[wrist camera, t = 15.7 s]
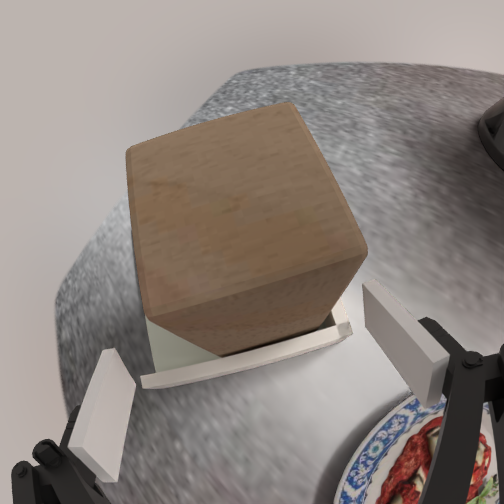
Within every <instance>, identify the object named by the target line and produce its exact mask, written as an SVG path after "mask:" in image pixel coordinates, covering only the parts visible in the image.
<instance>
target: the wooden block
mask: <svg viewBox="0 0 504 504" xmlns="http://www.w3.org/2000/svg"><path fill="white" fill-rule="evenodd" d="M126 171H127V186H128V198H129V208H130V218H131V227H132V236H133V244H134V252H135V259H136V266H137V273H138V280H139V286H140V292H141V298H142V304H143V310H144V314H145V315H146V317H147V319H148V320H149V321H151V322H152V323H154V324H156V325H158V326H160V327H162V328H164V329H165V330H167V331H169V332H171V333H173V334H175V335H177V336H179V337H181V338H183V339H185V340H187V341H189V342H190V343H192V344H194V345H196V346H198V347H200V348H202V349H205V350H207V351H209V352H211V353H213V354H215V355H217V356H219V357H221V358H224V357H228V356H232V355H236V354H240V353H244V352H247V351H251V350H255V349H259V348H262V347H266V346H269V345H273V344H276V343H280V342H283V341H287V340H290V339H293V338H297V337H300V336H303V335H307V334H310V333H313V332H315V331H317V330H318V329H319V327H320V326H321V324H322V323H323V322H324V320H325V319H326V317H327V316H328V314H329V313H330V311H331V310H332V309H333V307H334V306H335V304H336V303H337V301H338V300H339V298H340V297H341V295H342V294H343V292H344V291H345V289H346V288H347V286H348V285H349V283H350V282H351V280H352V279H353V277H354V275H355V274H356V272H357V271H358V269H359V268H360V266H361V265H362V263H363V261H364V260H365V258H366V257H367V255H368V247H367V244H366V242H365V240H364V237H363V235H362V233H361V231H360V229H359V227H358V224H357V222H356V220H355V218H354V216H353V214H352V212H351V210H350V208H349V206H348V203H347V201H346V199H345V197H344V195H343V193H342V191H341V189H340V187H339V185H338V183H337V181H336V179H335V178H334V176H333V174H332V172H331V170H330V168H329V166H328V164H327V162H326V160H325V158H324V157H323V155H322V153H321V151H320V149H319V147H318V146H317V144H316V142H315V140H314V138H313V137H312V135H311V133H310V131H309V129H308V128H307V126H306V124H305V122H304V121H303V119H302V117H301V115H300V114H299V112H298V110H297V109H296V107H295V105H294V104H292V103H290V102H284V103H279V104H275V105H270V106H266V107H261V108H257V109H253V110H249V111H245V112H241V113H237V114H233V115H229V116H225V117H221V118H218V119H214V120H211V121H207V122H204V123H200V124H197V125H193V126H190V127H187V128H184V129H180V130H177V131H174V132H171V133H168V134H165V135H162V136H159V137H156V138H153V139H150V140H147V141H145V142H142V143H139V144H136V145H134V146H131V147H130V148H129V149H127V151H126Z"/></svg>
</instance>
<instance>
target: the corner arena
mask: <svg viewBox="0 0 504 504" xmlns="http://www.w3.org/2000/svg"><path fill="white" fill-rule="evenodd" d="M145 319H146V325H147V330H148V336H149V341H150V347H151V352H152V357H153V362H154V366H155V371H156V373H153V374H147V375H142V376H140V378H141V383H142V388H143V389H163V388H169V387H174V386H179V385H184V384H188V383H193V382H198V381H202V380H207V379H211V378H216V377H220V376H224V375H228V374H232V373H236V372H240V371H244V370H248V369H252V368H256V367H259V366H263V365H267V364H270V363H274V362H277V361H281V360H284V359H288V358H291V357H294V356H298V355H301V354H304V353H307V352H311V351H314V350H317V349H320V348H323V347H326V346H329V345H332V344H335V343H338V342H341V341H343V340H345V339H346V338H348V337H349V336H350V335H352V334H353V332H352V329H351V326H350V323H349V320H348V317H347V314H346V311H345V308H344V305H343V302H342V300H341V297H340V298H339V300H338V301H337V303H336V304H335V306H334V307H333V309H332V310H331V311H330V313H329V314H328V316H327V317H326V319H325V320H324V322H323V323H322V324H321V326H320V327H319V329H318V330H317V331H315V332H313V333H310V334H307V335H303V336H300V337H297V338H293V339H290V340H287V341H283V342H280V343H276V344H273V345H269V346H266V347H262V348H259V349H255V350H251V351H247V352H244V353H240V354H236V355H232V356H228V357H224V358H221V357H219V356H217V355H215V354H213V353H211V352H209V351H207V350H205V349H202V348H200V347H198V346H196V345H194V344H192V343H190V342H189V341H187V340H185V339H183V338H181V337H179V336H177V335H175V334H173V333H171V332H169V331H167V330H165V329H164V328H162V327H160V326H158V325H156V324H154V323H152V322H151V321H149V320H148V319H147V317H146V315H145Z"/></svg>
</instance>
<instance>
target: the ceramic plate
mask: <svg viewBox="0 0 504 504" xmlns="http://www.w3.org/2000/svg"><path fill="white" fill-rule="evenodd" d="M446 400H447V399H446V397H445V396H444V395H443V394H442V395H441V399H440V402H439V403H437V404H435V405H433V406H431V407H429V408H427V409H424V408H423V406H422V405H421V403H420V402H419V401H418V399H417V398H416V396H415V395H412V396H410V397H409V398H407V399H406V400H405V401H403V402H402V403H401V404H399V405H398V406H396V407H395V408H394V409H393V410H391V411H390V412H389V413H388V414H387V415H386V416H385V417H384V418H383V419H382V420H381V421H380V422H379V423H378V424H377V425H376V426H375V427H374V428H373V429H372V430H371V431H370V432H369V434H368V435H367V436H366V437H365V439H364V440H363V441H362V443H361V444H360V445H359V447H358V448H357V450H356V451H355V453H354V454H353V456H352V458H351V460H350V461H349V463H348V465H347V466H346V468H345V470H344V473H343V475H342V478H341V480H340V482H339V485H338V488H337V491H336V494H335V498H334V503H333V504H418V501H419V498H420V496H421V493H422V490H423V487H424V484H425V481H426V478H427V475H428V472H429V468H430V465H431V462H432V458H433V455H434V451H435V447H436V444H437V440H438V436H439V432H440V427H441V423H442V419H443V411H444V408H445V404H446ZM465 504H499V484H498V471H497V460H496V451H495V443H494V436H493V429H492V423H491V417H490V412H489V406H488V402H486V403H483V413H482V422H481V429H480V436H479V443H478V449H477V455H476V460H475V465H474V470H473V475H472V479H471V484H470V488H469V492H468V496H467V500H466V503H465Z"/></svg>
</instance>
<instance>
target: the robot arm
mask: <svg viewBox="0 0 504 504" xmlns="http://www.w3.org/2000/svg"><path fill="white" fill-rule="evenodd" d="M478 132H479V136H480V139H481V141H482V143H483V145H484V147H485V149H486V150H487V152H488V153H489V155H490V156H491V157H492V158H493V160H494V161H495V162H496V163H497V164H498V165H499V166H500V167H501V168H502V169H503V170H504V97H503V98H502V99H501V100H499V101H498V102H497V103H495V104H494V105H493V106H492V107H490V108H489V109H488V110H486V111H485V113H484V114H483V116H482V118H481V119H480V121H479V124H478ZM362 288H363V300H364V315H365V327H366V328H367V330H368V331H369V332H370V334H371V335H372V336H373V338H374V339H375V340H376V342H377V343H378V344H379V346H380V347H381V349H382V350H383V351H384V353H385V354H386V355H387V357H388V358H389V360H390V361H391V362H392V364H393V365H394V367H395V368H396V369H397V371H398V372H399V374H400V375H401V376H402V378H403V379H404V381H405V382H406V383H407V385H408V386H409V388H410V389H411V390H412V392H413V393H414V395H415V396H416V398H417V399H418V401H419V402H420V403H421V405H422V406H423V408H424V409H427V408H429V407H431V406H433V405H435V404H437V403H439V402H440V399H441V395H442V394H443V395H444V396H445V397H446V399H447V400H446V404H445V408H444V411H443V419H442V423H441V427H440V432H439V436H438V440H437V444H436V447H435V451H434V455H433V458H432V462H431V465H430V468H429V472H428V475H427V478H426V481H425V484H424V487H423V490H422V493H421V496H420V498H419V501H418V504H465V503H466V500H467V496H468V492H469V488H470V484H471V479H472V475H473V470H474V465H475V460H476V455H477V449H478V443H479V436H480V429H481V422H482V413H483V403H486V402H488V406H489V412H490V417H491V423H492V429H493V436H494V443H495V451H496V460H497V471H498V484H499V504H504V344H503V345H502V346H501V349H500V352H499V353H497V354H493V355H489V356H482V355H481V354H479V353H478V352H474V351H466V350H465V349H464V348H463V347H462V346H461V345H460V344H459V343H458V342H457V341H456V340H455V339H454V338H453V337H452V336H451V335H450V334H448V332H447V331H446V330H445V329H443V328H442V327H441V326H440V325H439V324H438V323H437V322H436V321H435V320H432V319H430V318H428V317H425V318H423V319H420V320H418V321H417V320H416V319H415V318H414V317H413V316H412V315H411V314H410V313H409V312H408V311H407V310H406V309H405V308H404V307H403V306H402V305H401V304H400V303H399V302H398V301H397V300H396V299H395V298H394V297H393V296H392V295H391V294H390V293H389V292H388V291H387V290H386V289H385V288H384V287H383V286H382V285H381V284H380V283H379V282H378V281H377V280H376V279H374V280H371V281H368V282H365V283H362ZM135 388H136V384H135V382H134V380H133V379H132V377H131V375H130V374H129V372H128V370H127V368H126V367H125V365H124V363H123V362H122V360H121V358H120V356H119V354H118V353H117V351H116V349H115V348H111V349H106V350H103V351H102V353H101V356H100V358H99V361H98V363H97V366H96V368H95V371H94V373H93V376H92V379H91V381H90V384H89V386H88V389H87V392H86V395H85V397H84V400H83V403H82V405H81V406H76V408H75V409H74V410H73V411H72V413H71V415H70V417H69V420H68V423H67V426H66V430H65V431H64V434H63V437H62V440H61V443H60V446H59V447H58V446H57V445H56V444H55V442H54V441H53V440H50V439H45V440H42V441H40V442H39V443H38V444H37V445H36V446H35V447H34V449H33V452H32V455H33V458H34V459H35V460H36V461H37V462H38V463H39V464H40V465H38V466H35V467H33V466H32V465H31V464H30V463H28V462H27V461H20V462H19V463H17V464H16V465H15V466H14V467H13V470H12V474H11V478H12V494H13V504H111V503H110V501H109V500H108V499H107V497H106V496H105V494H104V493H103V491H102V490H101V488H100V487H99V486H98V485H97V484H96V483H95V479H96V476H97V477H98V478H99V479H100V480H101V481H102V482H118V477H119V470H120V465H121V459H122V453H123V447H124V442H125V437H126V432H127V426H128V421H129V416H130V412H131V407H132V402H133V398H134V393H135Z"/></svg>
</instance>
